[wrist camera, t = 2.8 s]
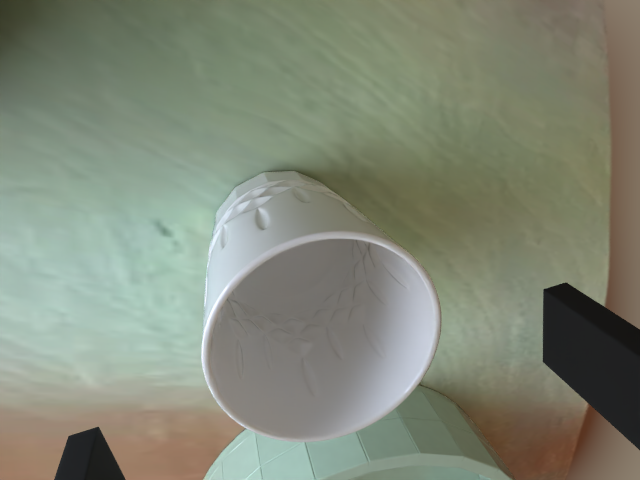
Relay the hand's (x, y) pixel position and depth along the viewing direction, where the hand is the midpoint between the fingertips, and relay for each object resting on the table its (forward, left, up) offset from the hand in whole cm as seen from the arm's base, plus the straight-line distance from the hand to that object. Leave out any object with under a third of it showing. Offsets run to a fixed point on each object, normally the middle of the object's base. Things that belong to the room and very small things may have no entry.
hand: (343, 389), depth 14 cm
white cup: (0, 0, -12) cm, 12 cm away
